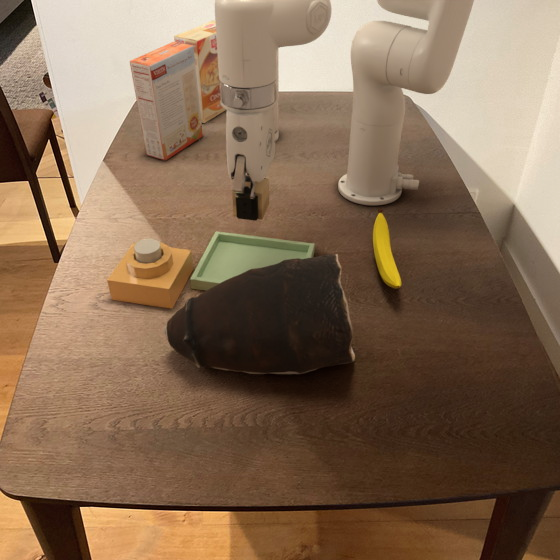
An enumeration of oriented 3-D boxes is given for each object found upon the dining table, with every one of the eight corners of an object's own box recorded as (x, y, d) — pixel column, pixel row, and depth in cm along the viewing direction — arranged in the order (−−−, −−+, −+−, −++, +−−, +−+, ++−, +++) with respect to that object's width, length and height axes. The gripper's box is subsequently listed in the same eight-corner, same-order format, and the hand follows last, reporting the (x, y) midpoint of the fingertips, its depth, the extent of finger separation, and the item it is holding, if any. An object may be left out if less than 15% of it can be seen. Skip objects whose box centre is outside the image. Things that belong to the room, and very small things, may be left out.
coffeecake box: (204, 124, 140) (197, 40, 128) (181, 117, 143) (172, 35, 130) (239, 103, 150) (235, 23, 137) (217, 97, 153) (211, 19, 140)
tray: (314, 252, 99) (314, 243, 98) (299, 304, 89) (299, 294, 88) (216, 240, 102) (215, 230, 101) (191, 288, 92) (189, 278, 91)
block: (269, 204, 90) (269, 178, 87) (262, 219, 86) (261, 193, 83) (241, 201, 90) (240, 175, 87) (233, 216, 87) (231, 190, 84)
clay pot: (151, 260, 78) (333, 226, 76) (185, 328, 89) (345, 301, 87) (140, 348, 68) (350, 312, 66) (180, 413, 79) (361, 384, 77)
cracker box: (183, 131, 137) (173, 40, 123) (204, 137, 134) (195, 44, 121) (143, 155, 127) (127, 59, 114) (165, 162, 125) (151, 64, 112)
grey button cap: (165, 250, 91) (164, 239, 89) (156, 265, 88) (154, 255, 86) (142, 247, 91) (140, 236, 90) (131, 262, 88) (129, 251, 87)
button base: (193, 269, 96) (190, 239, 92) (172, 309, 88) (167, 278, 84) (137, 261, 98) (131, 232, 94) (111, 299, 90) (104, 269, 86)
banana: (384, 311, 88) (389, 278, 84) (368, 238, 102) (371, 208, 98) (403, 310, 88) (409, 278, 84) (384, 238, 103) (388, 208, 99)
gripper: (260, 120, 70) (262, 243, 81) (288, 72, 82) (287, 185, 94) (200, 114, 71) (211, 237, 82) (238, 68, 84) (242, 180, 95)
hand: (251, 208), depth 88 cm, fingers closed on block, 4 cm apart
